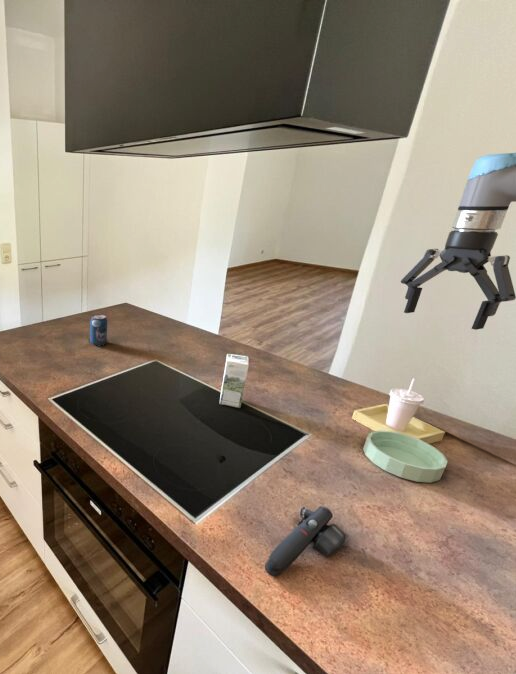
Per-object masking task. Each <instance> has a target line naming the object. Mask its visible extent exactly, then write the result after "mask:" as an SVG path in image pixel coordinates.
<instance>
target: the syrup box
mask: <svg viewBox="0 0 516 674" xmlns="http://www.w3.org/2000/svg"><path fill="white" fill-rule="evenodd" d="M249 362H250V361H249V356H248V355H241V354H232V353H227V354H226V358H225V364H224V365H225V366H224V372H223V377H222V385H221V389H220V397H219V405H221V406H227V407H232V408H237V409H241V407H242V402H243V398H244V397H243V396H244V392H245V387H246V383H247V376H248V372H249V366H250V363H249Z"/></svg>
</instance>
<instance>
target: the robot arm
mask: <svg viewBox="0 0 516 674" xmlns="http://www.w3.org/2000/svg"><path fill="white" fill-rule="evenodd" d="M514 202H515V203H516V152H504V153H494V154H486V155H482V156H480V157H478V159H476V160H475V161H474V163H473V166H472V168H471V171H470V174H469V175H468V178H467V179H466V183H465V187H464V190H463V192H462V195H461V198H460V201H459V204H458V207H457V210H456V214H455V216H454V219H453V222H452V225H451V228H452V229H454V230H451V231H449V233H448V235H447V239H446V242H445V244H444V249H443V250H440V249H438V248H429V249H427V250H426V251H425V252H424V255H423V257H422V258H421V259H420V260H419V262H417V263H416V264H415V265H414V267H413V268H412V269H410V270H409V272H408V273H406V274H405V276H404V277H403V278H402V279H401V280H400V283H401V284H404V285H406V286H407V289H406V292H405V293H406V294H405V296H404V298H405V300H407V301H406V305H405V308H404V309H403V313H404V314H411V313H412V314H413V313H415V311H416V308H417V306H418V303H419V300H420V297H421V293H422V291H423V287H421V285H424V284H425V283H426V282H428V281H430V280H432V279H433V278H434V277H436V276H438V275H440V274H442V273H443V272H445V271H448V272H458V273H462V274H468V273H469V274H470V276H472V277H473V278H474V281H475V282H476V283H477V285H478V287H480V290H481V291H482V293H483V294H484V296H485V297H486V299H487V300H482V302H481V304H480V306H479V309H478V312H477V314H476V316H475V319H474V321H473V323H472V325H471V330H475V331H477V330H483V329H484V328H485V325H486V323H487V321H488V318H489V317H493V316H495V315H496V314H497V311H498V309H499V307H500V304H501V303H502V302H503V303H504V302H510V301H511V302H513V301H515V300H516V292H515V289H514V288H515V287H514V285H513V280H512V277H511V276H512V275H511V273H510V269H509V263H510V259H511V257H510V255H508V254H507V255H505V254H504V255H492V250H493V248H494V245H495V243H496V241H497V238H498V236H499V233H498V232H497V231H498V230H500V229H501V228H502V226H503V223H504V221H505V219H506V216H507V213H508V210H509V207H510V205H511V204H512V203H514ZM496 230H497V231H496ZM438 258H440V261H441V262H439V263H437V264H436V265H435V266H434V267H433V268H431V269H429V270H428V271H426V272H425V273H423V274H422V272H424V271H425V270H426V269H427V268H428V267H429V266H430V265H431V264H432V262H434V261H435V260H436V259H438ZM487 263H490V265H491V266H492V269H493V270H492V271H493V274H494V279H495V282H496V285H495V283H494V281H493V280H492V279H491V277H490V275H489V274H488V270H487V269H486V267H485V266H484V265H486V264H487ZM421 274H422V275H421Z"/></svg>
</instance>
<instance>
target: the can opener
mask: <svg viewBox="0 0 516 674" xmlns="http://www.w3.org/2000/svg"><path fill="white" fill-rule="evenodd" d="M299 517H300V518H301V519H300V520H299V521H298V523H297V526H296V527H295V528H294V529H293V530H292V531H291V532H290V533H289V534H287V536H286V537H285V538H284V539H282V541H280V543H279V544H278V545H277V546H276V547H275V548H274V549H273V551H272V552H271V553H270V554H269V556H268V560H267V561H266V562H265V563H264V569H265V572H266V573H267V574H268V575H269V576H271V577H274V578H275V577H278V576H279V575H281V574H282V573H284V571H286V570H287V568H289V567H290V566H291V565H292V564H293V563H294V562H295V561H296V560H297V559H298V558H299V557H300V555H302V553H303V552H304V551H305V550H306V549H307V547H309V545H310V544H311V543H312V542H314V544H313V545H312V549H313V550H315V551H316V552H318V553H319V554H320V555H322V556H324V557H325V558H328V557H330V556H332V555H334V554H336V553H337V552H338V551H340V549H341V548H342V547H343V545H344V543H345V542H346V537H347V534H346V533H345V532H344V531H343V530H342V529H341V528H340V527H339V526H338V525H337V524H336V523H332V524H330V525H329V522H330V521H331V520H332V519H333V517H334V515H333V513H332V511H331V510H330V509H329V508H328V507H326V506H319V507H318V508H317V509H316V510H315V511H313V510H311V509H309V508H308V507H305V506H301V508H300V509H299Z"/></svg>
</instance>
